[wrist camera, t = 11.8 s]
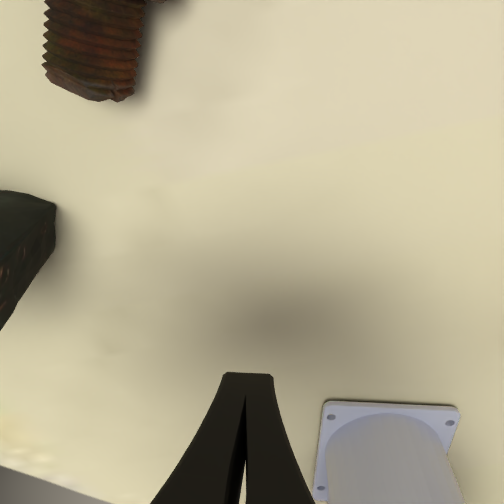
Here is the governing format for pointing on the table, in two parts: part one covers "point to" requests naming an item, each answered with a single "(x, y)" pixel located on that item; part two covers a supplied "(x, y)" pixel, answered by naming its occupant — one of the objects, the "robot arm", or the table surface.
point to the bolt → (93, 46)
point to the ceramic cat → (22, 245)
